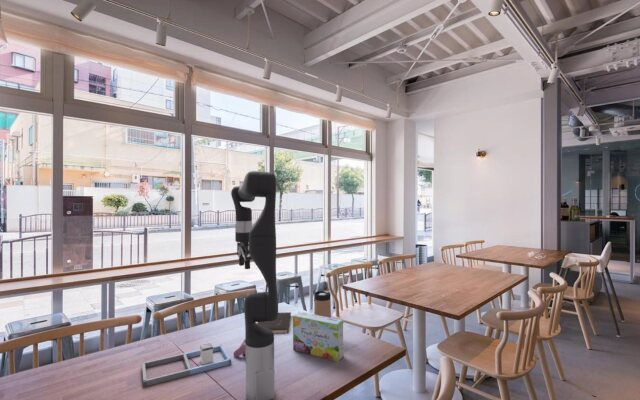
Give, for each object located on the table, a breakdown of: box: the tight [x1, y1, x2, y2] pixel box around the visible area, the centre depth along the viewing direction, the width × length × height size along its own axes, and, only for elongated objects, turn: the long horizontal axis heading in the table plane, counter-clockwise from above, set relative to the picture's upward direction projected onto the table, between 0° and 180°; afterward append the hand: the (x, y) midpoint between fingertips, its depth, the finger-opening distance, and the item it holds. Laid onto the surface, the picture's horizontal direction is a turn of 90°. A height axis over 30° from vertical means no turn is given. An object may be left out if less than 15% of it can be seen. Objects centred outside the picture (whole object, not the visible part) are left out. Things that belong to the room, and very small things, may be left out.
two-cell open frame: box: [141, 344, 232, 388], centre depth 128 cm, size 15×30×2 cm, turn 120°
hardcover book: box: [256, 311, 292, 334], centre depth 169 cm, size 16×23×2 cm
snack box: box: [292, 311, 344, 362], centre depth 137 cm, size 21×6×15 cm, turn 62°
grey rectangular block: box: [199, 342, 214, 366], centre depth 131 cm, size 4×4×6 cm
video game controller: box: [233, 338, 246, 358], centre depth 139 cm, size 10×5×7 cm, turn 170°
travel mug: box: [313, 290, 332, 318], centre depth 153 cm, size 8×8×20 cm
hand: (244, 267), depth 149 cm, fingers open, 8 cm apart
